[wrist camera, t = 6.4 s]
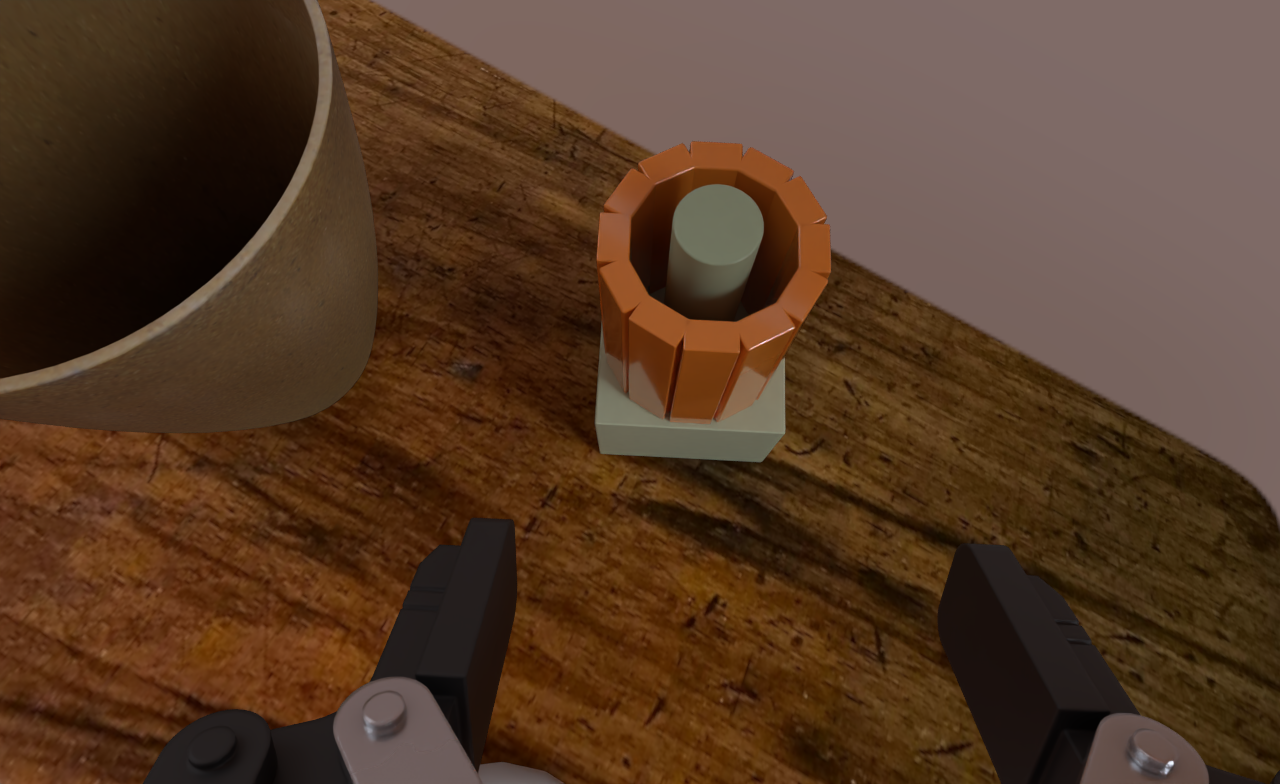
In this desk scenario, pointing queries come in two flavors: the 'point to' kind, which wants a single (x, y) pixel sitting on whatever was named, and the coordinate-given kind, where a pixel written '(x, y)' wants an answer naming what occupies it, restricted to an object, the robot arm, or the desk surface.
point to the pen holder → (704, 349)
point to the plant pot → (178, 216)
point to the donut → (514, 774)
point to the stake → (700, 290)
